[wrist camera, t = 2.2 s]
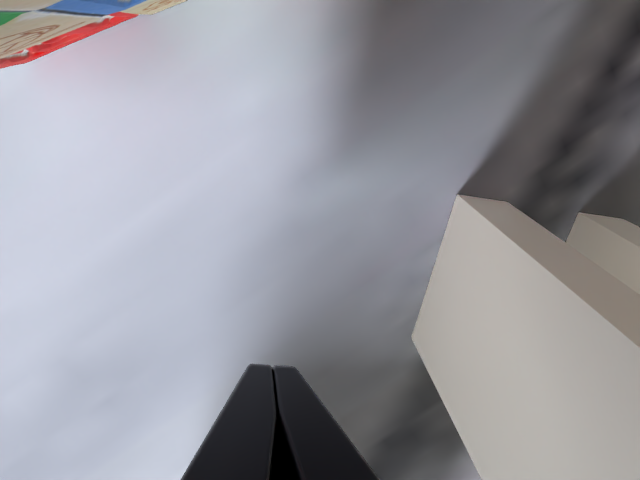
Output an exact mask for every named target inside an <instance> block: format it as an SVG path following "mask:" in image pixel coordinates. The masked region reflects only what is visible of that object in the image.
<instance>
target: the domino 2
mask: <svg viewBox="0 0 640 480" xmlns="http://www.w3.org/2000/svg"><path fill="white" fill-rule="evenodd" d="M565 243H567V244H568V245H570V246H571V247H573V248H574V249H575V250H577V251H578V252H580V253H581V254H583V255H584V256H585V257H587V258H588V259H590V260H591V261H593V262H594V263H595V264H597V265H598V266H600V267H601V268H603V269H604V270H605V271H607V272H608V273H610V274H611V275H613V276H614V277H615V278H617V279H618V280H620V281H621V282H622V283H624V284H625V285H627V286H628V287H630V288H631V289H632V290H634V291H635V292H637V293H638V294H640V227H638V226H636V225H634V224H633V223H631V222H629V221H627V220H625V219H621V218H614V217H607V216H601V215H594V214H587V213H580V212H578V215H577V217H576V219H575V222H574V224H573V226H572V229H571V231H570V233H569V236H568V238H567V240H566V242H565Z"/></svg>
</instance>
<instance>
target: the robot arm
mask: <svg viewBox="0 0 640 480" xmlns="http://www.w3.org/2000/svg"><path fill="white" fill-rule="evenodd" d="M181 480H379V478H378V477H377V476H376V474H375V473H374V472H373V470H372V469H371V468H370V466H369V465H368V463H367V462H366V461H365V459H364V458H363V457H362V455H361V454H360V453H359V451H358V450H357V449H356V447H355V446H354V445H353V443H352V442H351V441H350V439H349V438H348V437H347V435H346V434H345V433H344V431H343V430H342V429H341V427H340V426H339V425H338V423H337V422H336V421H335V419H334V418H333V417H332V415H331V414H330V413H329V411H328V410H327V409H326V407H325V406H324V405H323V403H322V402H321V401H320V399H319V398H318V397H317V395H316V394H315V393H314V391H313V390H312V389H311V387H310V386H309V385H308V383H307V382H306V381H305V379H304V378H303V377H302V375H301V374H300V373H299V371H298V370H297V369H296V368H295V367H292V366H278V365H276V366H274V367H273V368H272V367H271V366H270V365H263V364H250V365H249V366H248V367H247V368H246V370H245V372H244V373H243V375H242V377H241V379H240V380H239V382H238V384H237V385H236V387H235V389H234V390H233V392H232V394H231V395H230V397H229V399H228V401H227V402H226V404H225V406H224V407H223V409H222V411H221V412H220V414H219V416H218V417H217V419H216V421H215V423H214V424H213V426H212V428H211V429H210V431H209V433H208V434H207V436H206V438H205V439H204V441H203V443H202V445H201V446H200V448H199V450H198V451H197V453H196V455H195V456H194V458H193V460H192V461H191V463H190V465H189V466H188V468H187V470H186V472H185V473H184V475H183V477H182V478H181Z"/></svg>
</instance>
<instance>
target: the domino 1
mask: <svg viewBox="0 0 640 480" xmlns="http://www.w3.org/2000/svg"><path fill="white" fill-rule="evenodd" d="M411 338H412V340H413V342H414V344H415V346H416V349H417V351H418V353H419V355H420V357H421V359H422V361H423V363H424V365H425V367H426V369H427V371H428V373H429V375H430V377H431V379H432V381H433V383H434V385H435V387H436V389H437V391H438V393H439V395H440V397H441V399H442V401H443V403H444V405H445V407H446V409H447V411H448V413H449V415H450V417H451V419H452V421H453V423H454V425H455V427H456V429H457V431H458V433H459V435H460V437H461V439H462V441H463V443H464V445H465V447H466V449H467V451H468V453H469V455H470V457H471V459H472V461H473V463H474V465H475V467H476V469H477V471H478V473H479V476H480V478H481V480H640V294H638V293H637V292H635V291H634V290H632V289H631V288H630V287H628V286H627V285H625V284H624V283H622V282H621V281H620V280H618V279H617V278H615V277H614V276H613V275H611V274H610V273H608V272H607V271H605V270H604V269H603V268H601V267H600V266H598V265H597V264H595V263H594V262H593V261H591V260H590V259H588V258H587V257H585V256H584V255H583V254H581V253H580V252H578V251H577V250H575V249H574V248H573V247H571V246H570V245H568V244H567V243H565V242H564V241H563V240H561V239H560V238H558V237H557V236H555V235H554V234H553V233H551V232H550V231H548V230H547V229H545V228H544V227H543V226H541V225H540V224H538V223H537V222H535V221H534V220H533V219H531V218H530V217H528V216H527V215H525V214H524V213H523V212H521V211H520V210H518V209H517V208H515V207H514V206H513V205H511V204H510V203H508V202H506V201H499V200H492V199H486V198H479V197H472V196H465V195H459V194H457V195H456V198H455V202H454V205H453V208H452V211H451V214H450V217H449V220H448V224H447V227H446V230H445V233H444V236H443V239H442V242H441V245H440V249H439V252H438V255H437V258H436V261H435V264H434V267H433V271H432V274H431V277H430V280H429V283H428V286H427V289H426V293H425V296H424V299H423V302H422V305H421V308H420V311H419V315H418V318H417V321H416V324H415V327H414V330H413V333H412V336H411Z"/></svg>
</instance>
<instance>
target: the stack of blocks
mask: <svg viewBox="0 0 640 480" xmlns="http://www.w3.org/2000/svg"><path fill="white" fill-rule="evenodd" d="M185 1H187V0H0V68H5V67H9V66H13V65H18V64H25V63H27V62H30V61H32V60H35V59H37V58H39V57H42V56H44V55H46V54H48V53H51V52H53V51H55V50H58V49H60V48H62V47H65V46H67V45H69V44H72V43H74V42H76V41H79V40H81V39H83V38H86V37H88V36H91V35H93V34H95V33H98V32H100V31H102V30H105V29H107V28H110V27H112V26H115V25H117V24H119V23H121V22H123V21H126V20H129V19H131V18H134V17H136V16H138V15H139V14H148V15H153V14H155V13H158V12H160V11H163V10H165V9H167V8H170V7H172V6H175V5H177V4H180V3H182V2H185Z"/></svg>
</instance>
